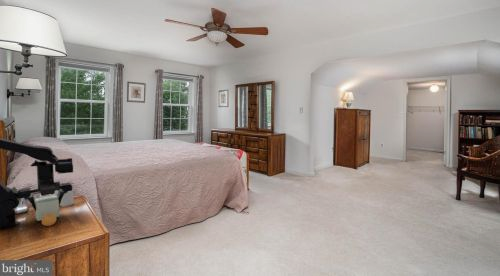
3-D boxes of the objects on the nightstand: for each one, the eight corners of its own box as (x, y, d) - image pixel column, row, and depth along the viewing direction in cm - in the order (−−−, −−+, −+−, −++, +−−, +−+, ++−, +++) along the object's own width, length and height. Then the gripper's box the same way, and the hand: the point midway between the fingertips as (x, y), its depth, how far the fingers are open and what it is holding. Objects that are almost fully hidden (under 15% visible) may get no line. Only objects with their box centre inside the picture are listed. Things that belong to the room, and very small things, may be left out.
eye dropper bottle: (60, 205, 130) (59, 182, 129) (73, 202, 134) (72, 181, 133) (61, 207, 127) (60, 184, 126) (74, 205, 131) (73, 182, 130)
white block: (35, 215, 114) (34, 198, 113) (56, 211, 119) (56, 195, 118) (37, 221, 108) (36, 203, 107) (59, 216, 114) (58, 199, 113)
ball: (38, 226, 106) (38, 215, 106) (51, 222, 111) (50, 211, 110) (47, 228, 105) (46, 217, 104) (59, 223, 109) (59, 212, 109)
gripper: (17, 182, 99) (19, 219, 101) (74, 175, 112) (75, 208, 114) (16, 176, 107) (19, 211, 109) (69, 170, 120) (70, 201, 122)
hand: (47, 208), depth 113 cm, fingers closed on white block, 8 cm apart
